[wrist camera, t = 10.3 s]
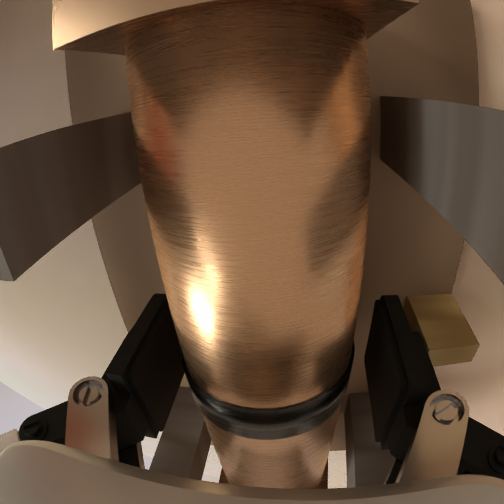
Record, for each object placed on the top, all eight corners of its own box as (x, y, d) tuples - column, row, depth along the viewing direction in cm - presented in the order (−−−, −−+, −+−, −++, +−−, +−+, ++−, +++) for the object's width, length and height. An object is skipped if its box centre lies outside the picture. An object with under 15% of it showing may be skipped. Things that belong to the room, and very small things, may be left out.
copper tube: (325, 437, 16) (324, 519, 12) (233, 434, 17) (217, 513, 12) (349, 14, 7) (405, -63, 2) (167, 28, 8) (52, -9, 3)
